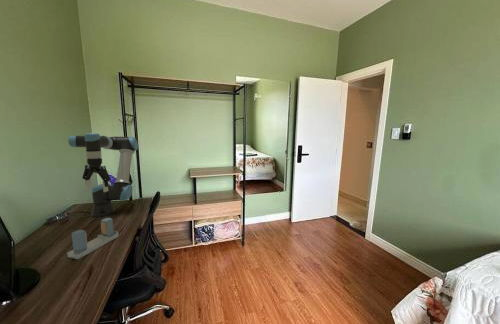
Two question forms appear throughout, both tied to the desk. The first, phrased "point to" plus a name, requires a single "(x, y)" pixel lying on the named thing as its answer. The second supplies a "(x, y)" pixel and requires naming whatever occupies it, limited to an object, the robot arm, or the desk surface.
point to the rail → (87, 243)
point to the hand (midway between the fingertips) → (97, 190)
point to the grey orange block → (107, 227)
